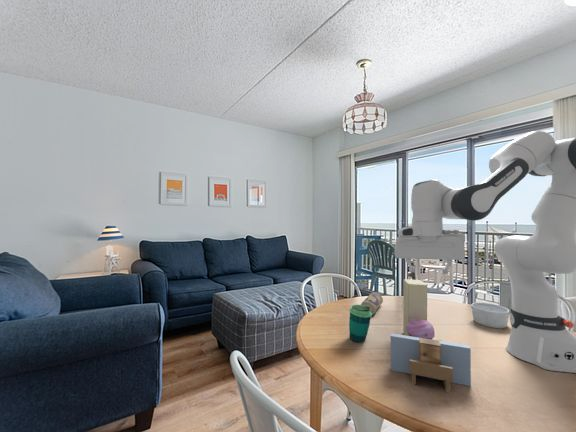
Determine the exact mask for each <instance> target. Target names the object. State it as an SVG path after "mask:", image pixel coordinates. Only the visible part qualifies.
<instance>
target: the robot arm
mask: <svg viewBox="0 0 576 432" xmlns="http://www.w3.org/2000/svg"><path fill="white" fill-rule="evenodd" d="M488 168H489V171H490V173H491V174H490V175H489V177H487V178H486V179H485V180H483V181H482V182H481V183H478V184H473V185H472V184H471V185H468V186H465V187H460V188H455V189H454V188H453V187H449V186H447V185H445V184H444V183H441V182H440V181H439V180H438V179H435V178H433V179H427V180H424V181H419V182H417V183H415V184H414V185H413V186H412V189H411V198H410V199H411V201H410V205H411V207H410V208H411V212H412V218H411V225H407V226H405V227H402V228H399V229H398V230H397V235H398V236H397V237H396V239H395V242H394V257H395V258H396V259H405V262H406V264H407V265H408V267H409V273H416V271H415V270H416V267H415V266H413V265H412V264H411V261H412V260H415V259H416V260H441V261H442V260H445V262H446V265H445V267H441V273H442V275H443V274H444V275H449V268H451V266H452V264H453V261H464V259H465V258H466V249H465V245H464V244H465V242H466V235H465V233H464V232H463V231H461V230H459V229H443V228H444V226H443V219H446V220H465V221H475V222H476V221H480V220H483V219H486V217H487V216H489V215H490V214H491V212H492V211H493V209H494V207H495V206H496V205H497V203H498V201H499V200H500V199H502V198H503V196H505V195H506V194H507V193H509V191H511V190H512V189H513V188H514V187H515V186H516V185H518V184H519V183H520V182H521V181H522V180H523V179H524V178H525V177H526V176H527V175H528V174H529V175H531V176H534V177H547V176H551V178H552V179H551V183H550V185H549V186H548V188H547V189H546V191H544V193H543V195H542V196H541V199H540V200H539V201H538V203H537V205H536V206H535V208H534V210H533V212H532V213H531V215H530V216H531V220H532V221H533V223H534V224H535V226H536V227H535V231H534V233H533V234H532V235H516V234H515V235H509V236H504V237H502V238H501V237H500V239H498V240H497V241H496V243H495V245H494V248H493V249H494V255H495V256H496V258H497V259H498V260H499V261H500V262H501V263H502V265H503V266H504V269H505V271H506V273H507V276H508V279H509V283H510V289H511V308H510V309H509V321H510V326H511V327H510V334H509V339H508V341H507V346H506V347H505V349H506V351H507V352H508V353H509V354H510V355H512V356H514V357H515V358H518V359H520V360H522V361H525V362H527V363H530V364H533V365H536V366H537V367H539V368H542V369H544V370H547V371H553V372H562V373H563V372H564V373H574V374H576V335H575V334H574V333H572V332H571V331H570V330H568V328H569V329H572V328H574V327H575V323H574V322H573V321H571V320H569V319H566V318H564V317H562V316H560V315H558V313H559V312H558V311H559V309H558V307H559V306H558V302H559V301H558V296H559V295H558V291H557V290H556V288H555V287H554V286H553V285H552V284H551V283H550V282H549V281H548V279H547V278H546V276H545V274H546V273H547V274H552V275H553V274H557V275H559V274H560V275H562V274H564V275H565V274H568V275H569V274H572V273H575V272H576V240H575V234H576V136H575V137H574V136H573V137H569V138H565V139H560V140H555V138H554V137H553V136H552V135H551V134H550V133H548V132H546V131H541V130H535V131H531V132H527V133H526V134H523V135H522V136H519V137H518V138H515V139H514V140H512V141H511V142H509V143H508V144H506V145H505V146H503V147H502V148H500V149H499V150H497V152H495V154H493V155H492V156H491V158H490V159H489V161H488ZM544 273H545V274H544ZM566 327H567V328H566Z"/></svg>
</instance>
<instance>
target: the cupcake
mask: <svg viewBox="0 0 576 432" xmlns="http://www.w3.org/2000/svg"><path fill="white" fill-rule="evenodd" d="M406 330H407V332H408V333H409V336H412V337H418V338H426V339H432V340H433V339H434V338H435V328H434V326H433V324H432V323H431V322H430V321H428V320H427V321H426V320H421V319H411V320H410V321H409V322H408V323H407V325H406Z"/></svg>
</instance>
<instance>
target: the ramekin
mask: <svg viewBox="0 0 576 432" xmlns="http://www.w3.org/2000/svg"><path fill="white" fill-rule="evenodd" d="M470 308H471V311H472V318H473V320H474V321H475V323H476V324H479V325H481V326H484V327H488V328H492V329H493V328H495V329H503V328H505V327H506V326H508V322H509V317H510V309H508V308H507V307H505V306H502V305H499V304H495V303H489V302H473V303H471V305H470Z"/></svg>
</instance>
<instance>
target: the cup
mask: <svg viewBox="0 0 576 432" xmlns="http://www.w3.org/2000/svg"><path fill="white" fill-rule="evenodd" d="M348 311H349V321H348V323H349V324H348V325H349V327H348V329H349V330H348V331H349V334H348V335H349V339H350V341H352V342H354V343H361V344H362V343H364V342H366V339H367V336H368V332H369V328H370V325H371V318H372V316H373V315H372V313H371V312H370V308H369V307H368V306H365V305H361V304H354V305H351V307H350V308H349V310H348Z"/></svg>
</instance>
